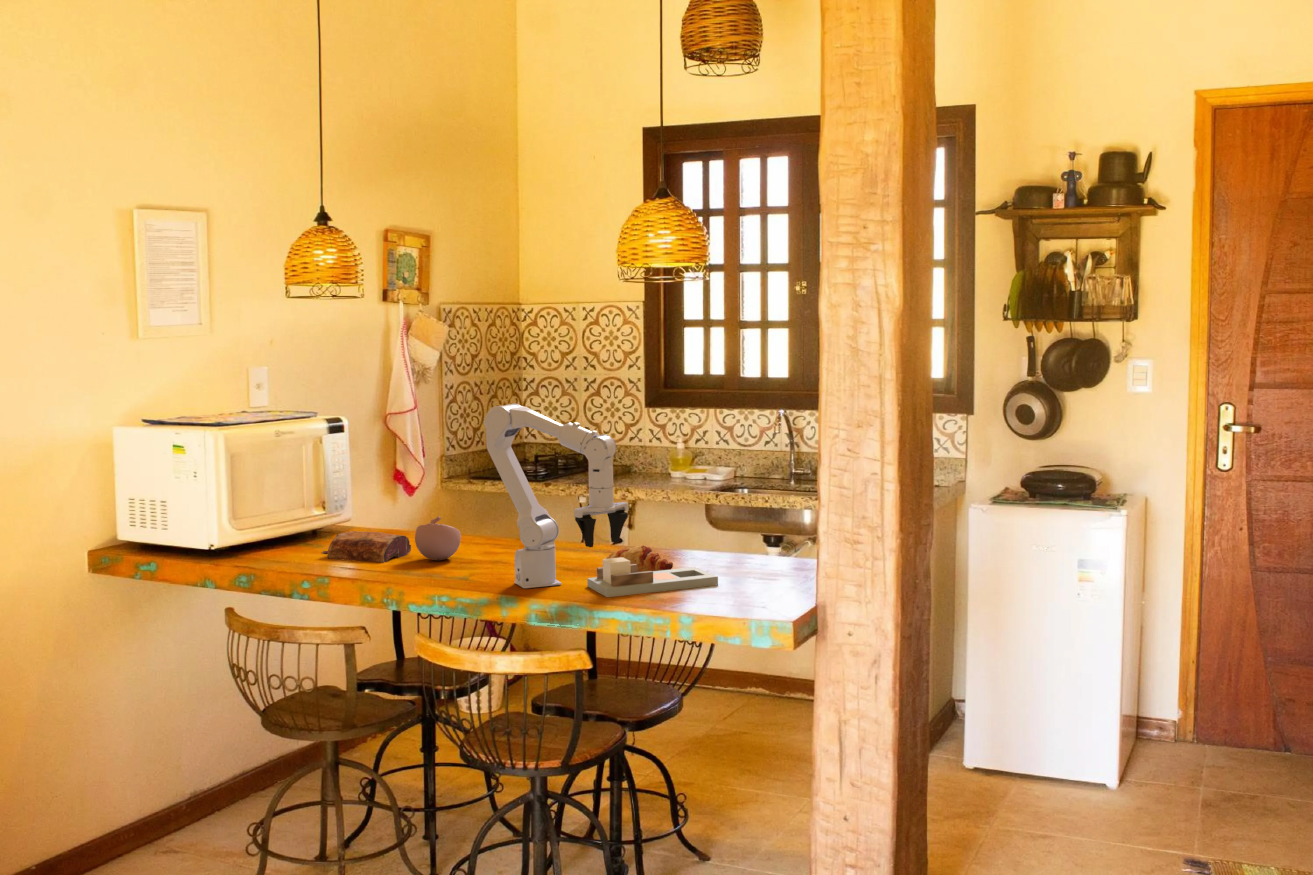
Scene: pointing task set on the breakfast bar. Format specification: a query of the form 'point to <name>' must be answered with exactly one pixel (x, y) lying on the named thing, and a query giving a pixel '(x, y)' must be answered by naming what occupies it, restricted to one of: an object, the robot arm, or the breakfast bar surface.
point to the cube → (615, 567)
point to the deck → (658, 582)
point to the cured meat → (368, 546)
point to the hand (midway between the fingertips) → (602, 544)
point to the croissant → (643, 559)
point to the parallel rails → (628, 577)
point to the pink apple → (437, 540)
